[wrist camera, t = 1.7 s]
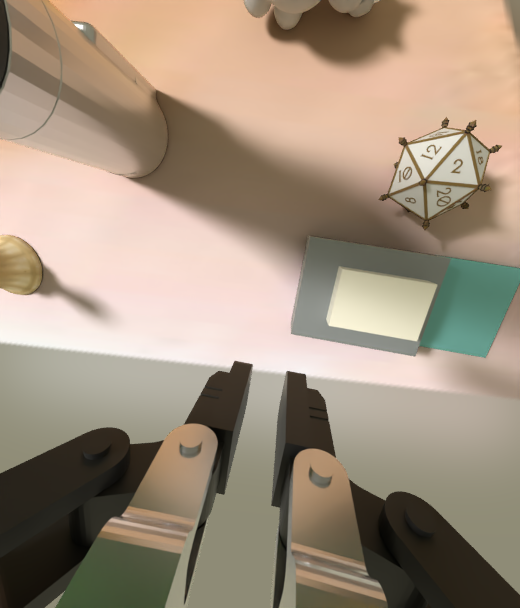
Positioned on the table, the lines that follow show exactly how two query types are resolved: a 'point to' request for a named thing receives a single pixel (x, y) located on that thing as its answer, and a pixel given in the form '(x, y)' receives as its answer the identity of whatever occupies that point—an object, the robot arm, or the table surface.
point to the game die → (439, 171)
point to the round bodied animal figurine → (303, 9)
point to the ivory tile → (380, 303)
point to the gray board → (333, 253)
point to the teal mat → (470, 306)
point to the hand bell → (18, 266)
